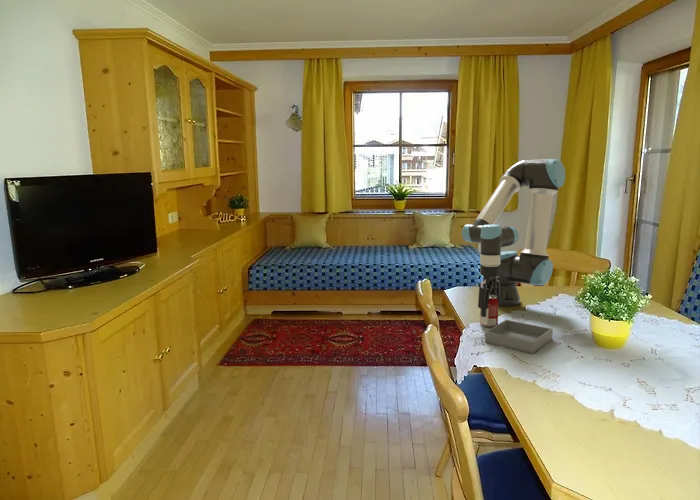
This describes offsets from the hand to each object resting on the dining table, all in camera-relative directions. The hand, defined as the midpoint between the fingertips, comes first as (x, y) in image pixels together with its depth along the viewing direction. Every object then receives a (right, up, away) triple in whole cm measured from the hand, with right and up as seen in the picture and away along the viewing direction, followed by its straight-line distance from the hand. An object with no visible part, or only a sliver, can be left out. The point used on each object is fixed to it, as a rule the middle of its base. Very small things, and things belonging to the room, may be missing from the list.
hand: (488, 321), depth 192 cm
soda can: (0, -2, 0) cm, 2 cm away
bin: (+6, -4, -17) cm, 18 cm away
